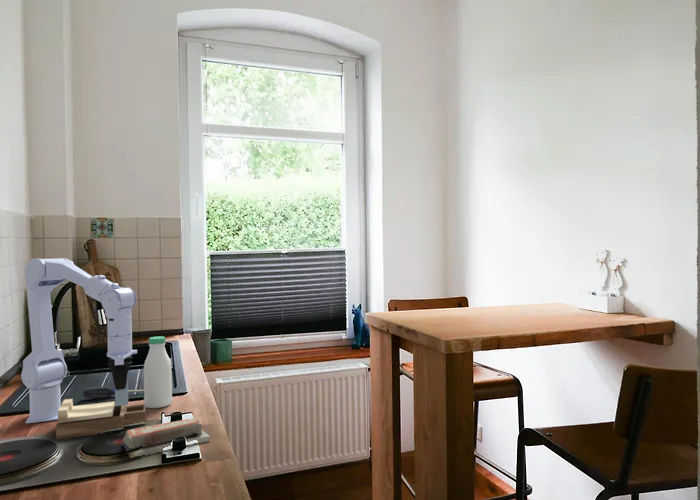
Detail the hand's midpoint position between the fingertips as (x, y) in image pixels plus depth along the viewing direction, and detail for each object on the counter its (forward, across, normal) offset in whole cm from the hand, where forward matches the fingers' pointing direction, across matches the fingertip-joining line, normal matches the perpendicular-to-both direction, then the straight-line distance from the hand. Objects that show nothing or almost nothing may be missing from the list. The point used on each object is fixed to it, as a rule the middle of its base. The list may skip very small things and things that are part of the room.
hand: (120, 387), depth 128 cm
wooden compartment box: (+10, +4, +4) cm, 12 cm away
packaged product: (+11, -16, -10) cm, 22 cm away
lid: (+7, +4, +8) cm, 11 cm away
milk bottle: (+11, +16, -9) cm, 22 cm away
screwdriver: (+11, +32, -2) cm, 33 cm away
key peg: (+4, 0, 0) cm, 4 cm away
